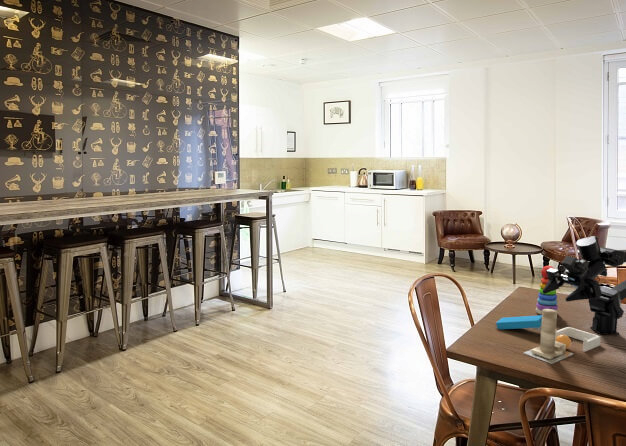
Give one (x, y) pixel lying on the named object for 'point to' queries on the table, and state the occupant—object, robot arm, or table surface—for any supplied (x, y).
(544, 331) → the beige peg stand
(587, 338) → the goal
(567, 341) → the ball
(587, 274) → the robot arm
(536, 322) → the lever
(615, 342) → the table surface
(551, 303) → the stacking toy
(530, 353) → the grey rectangular plate
